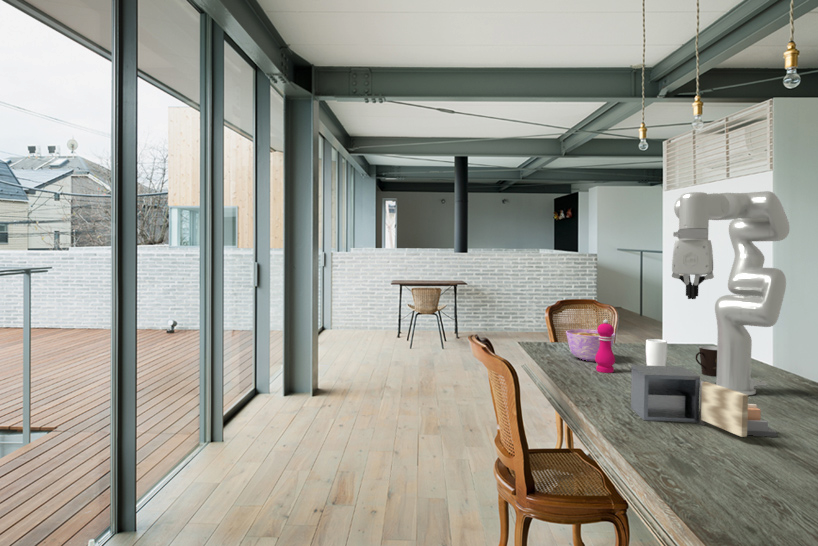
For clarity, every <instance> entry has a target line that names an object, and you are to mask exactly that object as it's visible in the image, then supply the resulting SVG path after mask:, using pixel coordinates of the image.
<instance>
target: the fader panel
mask: <svg viewBox="0 0 818 546" xmlns="http://www.w3.org/2000/svg"><path fill="white" fill-rule="evenodd" d="M777 433H778V432H777V431H776V430H774V429H773V428H771V427H769V422H768V421H767V420H761V419H760V420H747V435H753V436H752V437H764V436H767V437H768V438H770V437H771V438H777V436H778V434H777Z"/></svg>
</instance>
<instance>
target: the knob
mask: <svg viewBox="0 0 818 546" xmlns="http://www.w3.org/2000/svg"><path fill="white" fill-rule="evenodd" d="M761 413H762V410H761V409H760V408H758V404H755V403H748V419H747V420H761V418H762V417H761Z"/></svg>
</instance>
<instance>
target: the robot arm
mask: <svg viewBox="0 0 818 546" xmlns="http://www.w3.org/2000/svg"><path fill="white" fill-rule="evenodd" d="M673 209H674V210H673V211H674V213H675V216H676V217H677V218H678V231H673V233H672V234H673V237H675V238H677V239H678V240H675V242H674V245H673V252H672V259H671V261H672V262H671V273H672V274H671V277H672V278H674V279H676V280H677V279H678V280H681V282H682V283H683V284H684V285H685V296H686V297H687V299H688V300H696V299H697V297H699V285H700V284H701V283H703V282H704V281H707V280H711V279H714V278H715V277H714V276H715V275H714V273H713V272H714V254H713V253H714V251H713V245H712V241H711V240H710V239H709V226H710V225H709V224H710V223H709V222H710V221H729V220H731V221H730V222H729V224H728V235H729V237H730V242H731V245H732V248H733V251H734V260H733V263H732V267H731V269H730V273H729V276H728V280H727V288H728V290H729V292H730V293H732V294H726V295H722V296H719V298H717V300H716V301H715V304H714V313H715V317H716V325H717V328H716V329H717V344H716V345H717V346H716V347H717V376H716V382H715V383H714V382H713V383H712V384H715V385H718V386H721V387H725V388H728V389H731V390H734V391H737V392H740V393H743V394H746V395H748V396H754V395H755V394H756V393H757V389H755V388H757V387H759V388H767V386H768V383H767V381H766V380H758V379H754V378H752V377H751V375H752V373H751V371H752V346H753V345H752V344H753V343H752V336H751V334H750V332H749V331H748V329H746V327H745V326H749V327H750V326H751V327H761V328H770V327H773V326H775V325H776V324H777V321H778V320H779V317H780V313H781V310H782V305H783V301H784V298H785V294H786V293H785V292H786V288H787V278H786V275H785V273H784V272H783V270H781V269H779V268H777V267H776V268H775V267H764V264H765V255H764V254H763V252H762V251H761V249H759V248H758V246H757V245H756V244H754V242H780V241H783V240H785V239H787V237H788V236H789V233H790V222H789V219H788V217H787V215H786V212H785V210H784V207H783V205H782V202H781V201H780V199H779V197H778V195H777V194H775V193H774V192H772V191H769V190H767V191H752V192H722V193H721V192H719V193H718V192H717V193H715V192H713V193H707V192H704V191H703V192H701V191H699V192H698V191H693V192H692V191H691V192H685V193H683V194H681V195H680V196H679V197H678V199H676V201H675V203H674V207H673ZM692 275H693V276H694V278H693V279H694V280H693V282H692V278H691V276H692Z"/></svg>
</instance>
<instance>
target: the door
mask: <svg viewBox="0 0 818 546" xmlns="http://www.w3.org/2000/svg"><path fill="white" fill-rule="evenodd" d="M748 404H749V395H746V394H743V393H740V392H737V391H734V390H731V389H728V388H725V387H721V386H718V385H715V384H713V383H711V382H709V381H705V380H700V391H699V425H700V426H705V424H706V423H708V424H710V425H712V426H714V427H717V428H720V429H722V430H725V431H727V432H729V433H731V434H733V435H736V436H739V437H741V438H743V437H744V438H746V437H748V436H747V419H748Z"/></svg>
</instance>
